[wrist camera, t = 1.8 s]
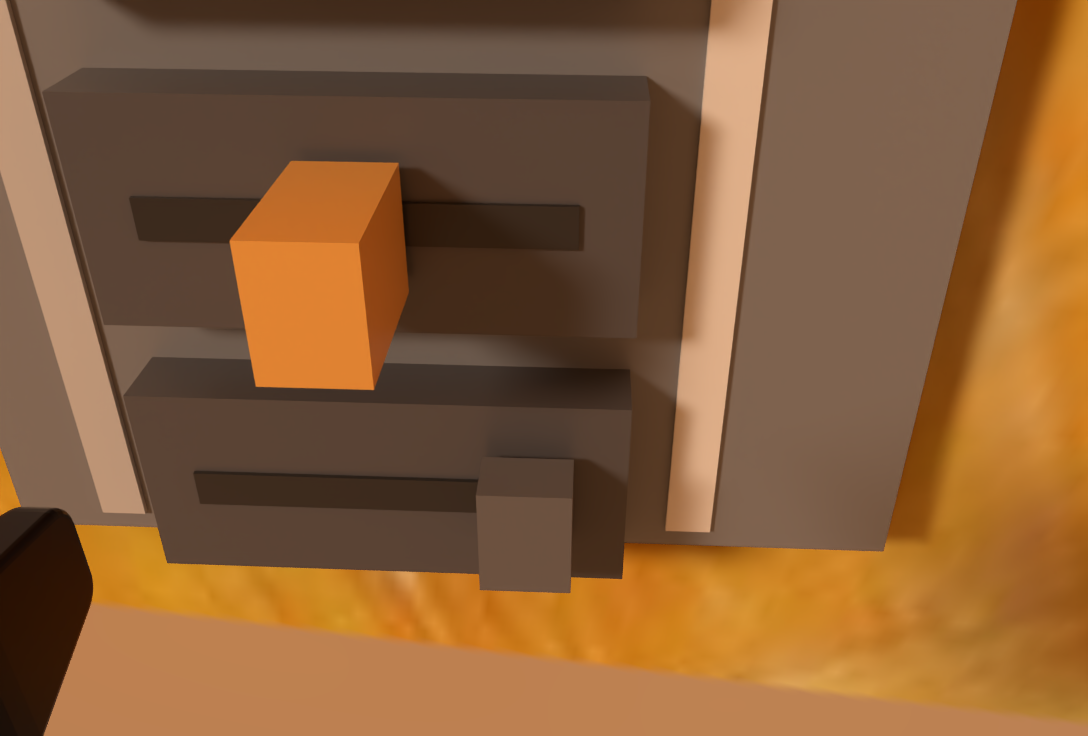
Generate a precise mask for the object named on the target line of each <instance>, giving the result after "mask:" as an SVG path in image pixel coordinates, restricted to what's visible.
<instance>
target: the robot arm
mask: <svg viewBox="0 0 1088 736" xmlns="http://www.w3.org/2000/svg"><path fill="white" fill-rule="evenodd" d="M92 595H93V580H92V575H91V572H90V569H89V566H88V563H87V560H86V557H85V554H84V551H83V548H82V546H81V543H80V540H79V537H78V534H77V531H76V528H75V525H74V522H73V520H72V518H71V516H70V515H69V514H68V513H67V512H66V511H65V510H62V509H59V508H50V507H18V508H14V509H12V510H10V511H8V512H6V513H4V514H2V515H1V516H0V736H43V735H44V732H45V729H46V727H47V724H48V721H49V718H50V716H51V712H52V710H53V707H54V705H55V702H56V699H57V696H58V693H59V690H60V688H61V685H62V682H63V680H64V677H65V674H66V671H67V669H68V666H69V663H70V660H71V658H72V655H73V652H74V649H75V646H76V644H77V641H78V638H79V636H80V633H81V630H82V627H83V624H84V622H85V619H86V616H87V613H88V611H89V608H90V605H91V601H92Z"/></svg>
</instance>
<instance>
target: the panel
mask: <svg viewBox="0 0 1088 736" xmlns="http://www.w3.org/2000/svg"><path fill="white" fill-rule="evenodd" d="M1016 3H1017V0H0V448H1V451H2V454H3V457H4V459H5V462H6V465H7V468H8V471H9V473H10V476H11V479H12V482H13V485H14V487H15V490H16V493H17V496H18V499H19V501H20V504H21V507H50V508H59V509H62V510H65V511H66V512H67V513H68V514H69V515H70V516H71V518H72V520H73V522H74V524H77V525H107V526H137V527H158V530H159V534H160V537H161V541H162V545H163V549H164V552H165V556H166V560H167V563H179V564H208V565H237V566H266V567H294V568H323V569H352V570H380V571H409V572H438V573H467V574H479V578H480V590H495V591H524V592H552V593H570V590H571V577H582V578H610V579H622V573H623V557H624V543H647V544H677V545H707V546H737V547H767V548H797V549H827V550H857V551H884V547H885V543H886V539H887V534H888V530H889V526H890V522H891V518H892V514H893V510H894V506H895V501H896V497H897V493H898V489H899V485H900V481H901V477H902V473H903V469H904V464H905V460H906V456H907V452H908V448H909V444H910V440H911V436H912V431H913V427H914V423H915V419H916V415H917V411H918V407H919V403H920V399H921V394H922V390H923V386H924V382H925V378H926V374H927V370H928V366H929V362H930V357H931V353H932V349H933V345H934V341H935V337H936V333H937V329H938V324H939V320H940V316H941V312H942V308H943V304H944V300H945V296H946V292H947V287H948V283H949V279H950V275H951V271H952V267H953V263H954V259H955V255H956V250H957V246H958V242H959V238H960V234H961V230H962V226H963V222H964V217H965V213H966V209H967V205H968V201H969V197H970V193H971V189H972V185H973V180H974V176H975V172H976V168H977V164H978V160H979V156H980V152H981V148H982V143H983V139H984V135H985V131H986V127H987V123H988V119H989V115H990V110H991V106H992V102H993V98H994V94H995V90H996V86H997V82H998V78H999V73H1000V69H1001V65H1002V61H1003V57H1004V53H1005V49H1006V45H1007V41H1008V36H1009V32H1010V28H1011V24H1012V20H1013V16H1014V12H1015V8H1016ZM290 161H328V162H383V163H399V172H400V185H401V198H402V211H403V223H404V236H405V249H406V261H407V274H408V287H409V294H408V296H407V299H406V302H405V305H404V307H403V310H402V313H401V316H400V319H399V321H398V324H397V327H396V330H395V333H394V335H393V338H392V341H391V344H390V347H389V349H388V352H387V355H386V358H385V361H384V363H383V366H382V369H381V372H380V375H379V377H378V380H377V383H376V386H375V389H374V390H358V389H321V388H285V387H256V385H255V379H254V374H253V368H252V363H251V357H250V352H249V346H248V341H247V335H246V330H245V324H244V318H243V313H242V307H241V302H240V296H239V291H238V285H237V280H236V274H235V269H234V263H233V257H232V252H231V246H230V239H231V238H232V237H233V235H234V234H235V233H236V232H237V230H238V229H239V228H240V226H241V225H242V224H243V222H244V221H245V220H246V219H247V217H248V216H249V215H250V213H251V212H252V211H253V209H254V208H255V207H256V206H257V204H258V203H259V202H260V200H261V199H262V198H263V197H264V195H265V194H266V193H267V191H268V190H269V189H270V187H271V186H272V185H273V184H274V182H275V181H276V180H277V178H278V177H279V176H280V174H281V173H282V172H283V171H284V169H285V168H286V167H287V165H288V164H289V163H290Z"/></svg>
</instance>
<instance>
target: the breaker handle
mask: <svg viewBox="0 0 1088 736" xmlns="http://www.w3.org/2000/svg"><path fill="white" fill-rule="evenodd" d="M230 246H231V252H232V257H233V263H234V269H235V274H236V280H237V285H238V291H239V296H240V302H241V307H242V313H243V318H244V324H245V330H246V335H247V341H248V346H249V352H250V357H251V363H252V368H253V374H254V379H255V385H256V387H285V388H321V389H358V390H374V389H375V386H376V383H377V380H378V377H379V375H380V372H381V369H382V366H383V363H384V361H385V358H386V355H387V352H388V349H389V347H390V344H391V341H392V338H393V335H394V333H395V330H396V327H397V324H398V321H399V319H400V316H401V313H402V310H403V307H404V305H405V302H406V299H407V296H408V294H409V287H408V274H407V261H406V249H405V236H404V223H403V211H402V198H401V185H400V172H399V163H383V162H328V161H290V163H289V164H288V165H287V167H286V168H285V169H284V171H283V172H282V173H281V174H280V176H279V177H278V178H277V180H276V181H275V182H274V184H273V185H272V186H271V187H270V189H269V190H268V191H267V193H266V194H265V195H264V197H263V198H262V199H261V200H260V202H259V203H258V204H257V206H256V207H255V208H254V209H253V211H252V212H251V213H250V215H249V216H248V217H247V219H246V220H245V221H244V222H243V224H242V225H241V226H240V228H239V229H238V230H237V232H236V233H235V234H234V235H233V237H232V238H231V239H230Z"/></svg>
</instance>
